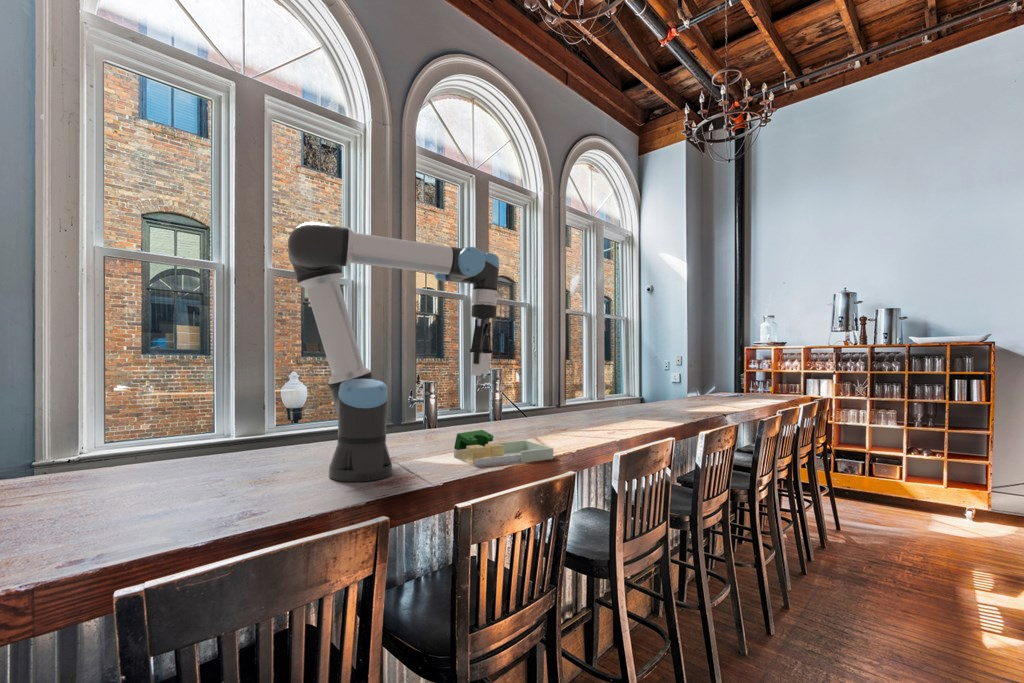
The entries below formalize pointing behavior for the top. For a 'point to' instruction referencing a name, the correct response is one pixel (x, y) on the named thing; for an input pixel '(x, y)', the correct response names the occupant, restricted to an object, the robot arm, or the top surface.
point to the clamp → (472, 439)
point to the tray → (527, 450)
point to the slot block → (487, 459)
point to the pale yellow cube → (494, 450)
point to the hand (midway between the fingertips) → (480, 374)
